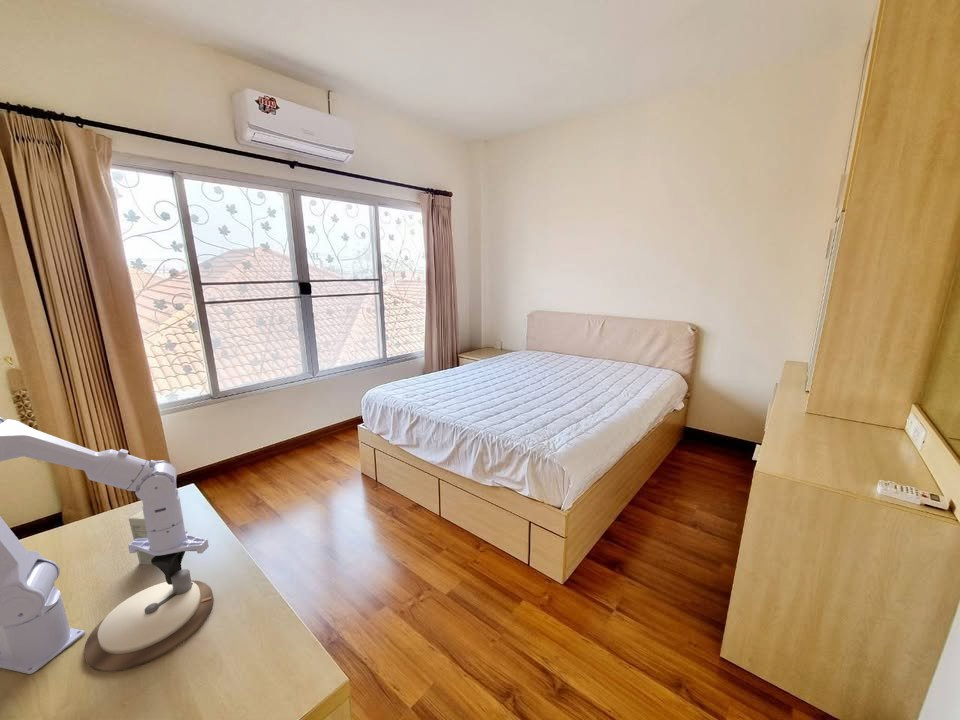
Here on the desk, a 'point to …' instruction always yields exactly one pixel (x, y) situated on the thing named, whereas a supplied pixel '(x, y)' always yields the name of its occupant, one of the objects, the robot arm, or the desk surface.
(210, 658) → the desk surface
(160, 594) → the dial
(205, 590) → the dial base
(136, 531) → the skincare box
